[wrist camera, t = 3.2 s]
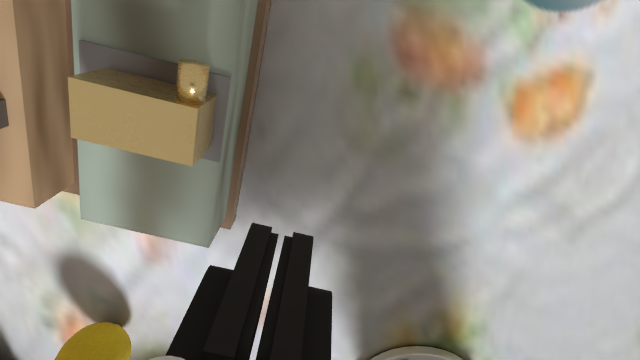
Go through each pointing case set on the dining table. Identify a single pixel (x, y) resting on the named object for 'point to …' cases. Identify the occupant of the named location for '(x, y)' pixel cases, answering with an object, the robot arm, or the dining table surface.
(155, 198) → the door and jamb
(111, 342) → the lemon
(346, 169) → the dining table surface
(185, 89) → the brass bolt
